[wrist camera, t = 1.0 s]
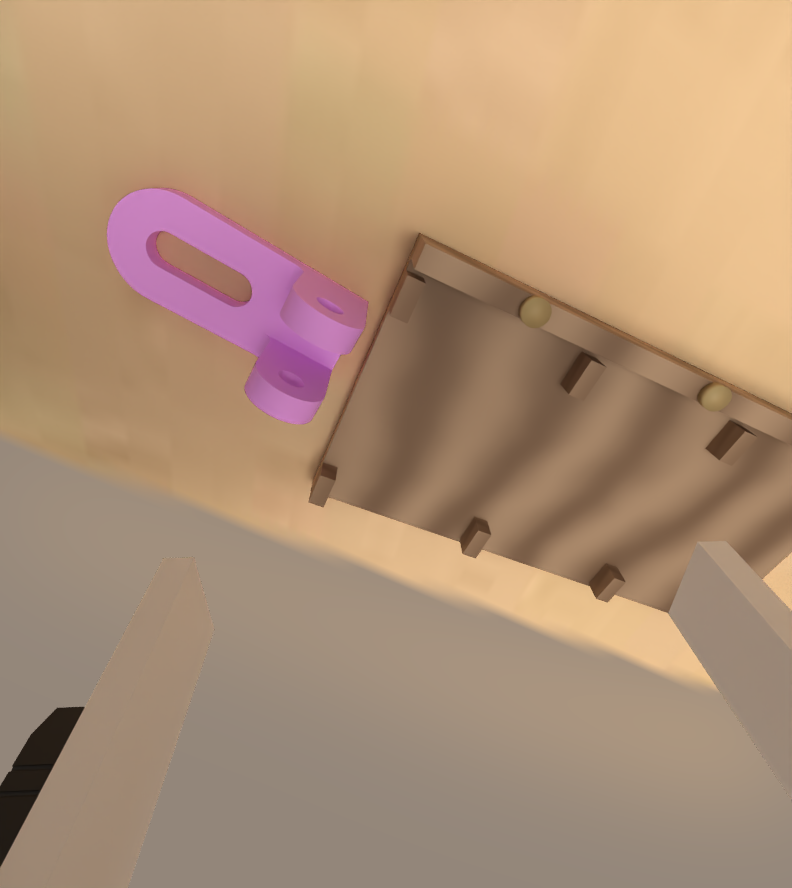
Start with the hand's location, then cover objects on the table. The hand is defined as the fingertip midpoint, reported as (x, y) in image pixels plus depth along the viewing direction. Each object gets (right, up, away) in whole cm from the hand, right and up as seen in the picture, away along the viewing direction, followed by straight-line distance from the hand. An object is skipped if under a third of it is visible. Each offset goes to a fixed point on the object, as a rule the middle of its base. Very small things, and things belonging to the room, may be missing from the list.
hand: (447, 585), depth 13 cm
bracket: (-10, +13, +14) cm, 21 cm away
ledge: (+12, +2, +20) cm, 23 cm away
